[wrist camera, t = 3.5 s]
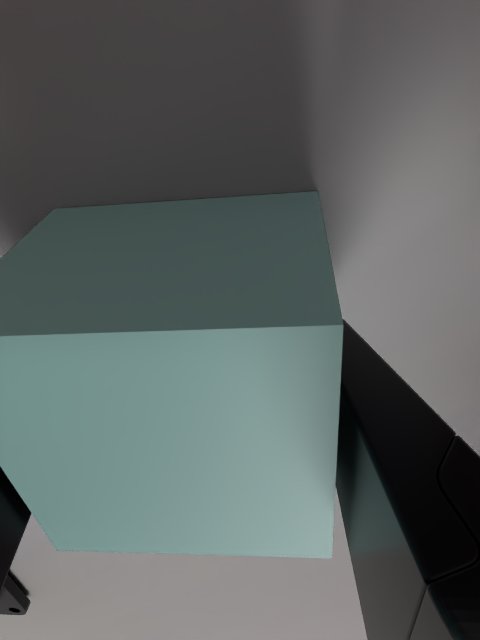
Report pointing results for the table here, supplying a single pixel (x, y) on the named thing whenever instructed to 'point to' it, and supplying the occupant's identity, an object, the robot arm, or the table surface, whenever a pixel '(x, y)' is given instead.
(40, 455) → the teal brick
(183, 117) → the table surface
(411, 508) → the robot arm
